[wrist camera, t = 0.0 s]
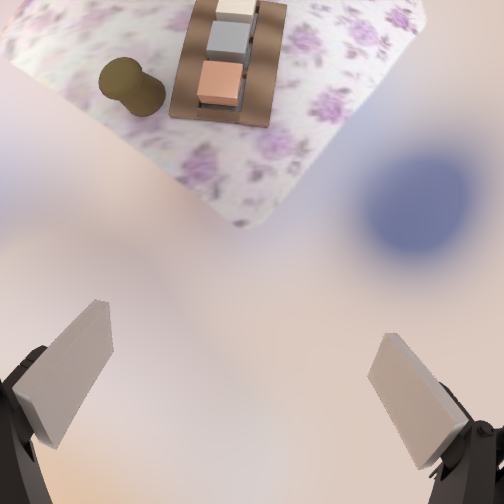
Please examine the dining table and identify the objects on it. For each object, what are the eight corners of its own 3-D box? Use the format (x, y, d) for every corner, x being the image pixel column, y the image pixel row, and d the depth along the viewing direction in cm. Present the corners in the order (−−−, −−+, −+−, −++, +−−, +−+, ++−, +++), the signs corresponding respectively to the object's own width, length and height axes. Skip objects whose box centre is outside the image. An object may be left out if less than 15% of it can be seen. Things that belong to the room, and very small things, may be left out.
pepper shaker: (170, 78, 33) (147, 49, 23) (160, 118, 35) (132, 100, 24) (131, 77, 33) (99, 51, 22) (121, 115, 34) (84, 99, 24)
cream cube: (223, 2, 28) (222, -12, 24) (256, 5, 28) (257, -9, 24) (217, 26, 29) (215, 12, 25) (251, 29, 29) (252, 15, 25)
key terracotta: (207, 71, 31) (203, 60, 27) (242, 74, 31) (242, 63, 27) (201, 102, 32) (196, 94, 28) (237, 106, 32) (236, 98, 28)
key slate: (215, 34, 29) (213, 20, 25) (249, 37, 30) (250, 24, 26) (209, 61, 30) (206, 49, 27) (244, 65, 31) (244, 53, 27)
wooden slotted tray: (198, 2, 30) (197, -4, 28) (285, 11, 31) (287, 4, 29) (171, 117, 35) (168, 114, 33) (267, 127, 36) (268, 125, 34)
